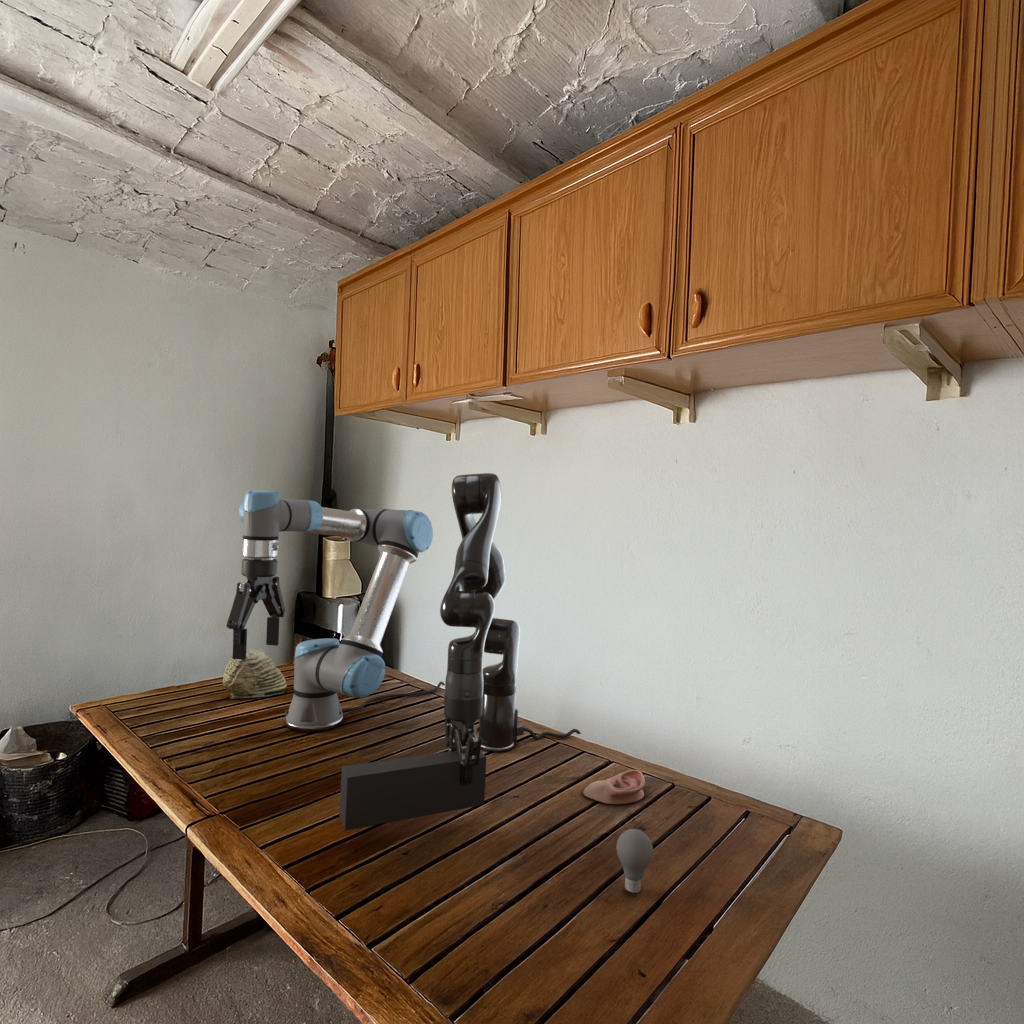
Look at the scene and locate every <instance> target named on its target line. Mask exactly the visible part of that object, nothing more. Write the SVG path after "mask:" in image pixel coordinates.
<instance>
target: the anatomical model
mask: <svg viewBox="0 0 1024 1024" xmlns="http://www.w3.org/2000/svg"><path fill="white" fill-rule="evenodd" d="M645 785H646V779H645V775H644V773H643V772H642V771H641V770H639V769H630V770H626V771H623V772H620V773H618V774H616V775H613V776H612V777H609V778H607V779H604V780H597V781H595V780H594V781H593V782H591V783H589V784H588V785H587V786H586V787H585V788H584V790H583V793H582V794H583V796H585V797H586V798H588V799H591V800H594V801H596V802H600V803H603V804H607V805H624V804H630V803H636V802H638V801H640V800H642V799H643V798H644V796H645V792H644V790H643V789H644V787H645Z"/></svg>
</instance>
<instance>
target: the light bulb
mask: <svg viewBox="0 0 1024 1024" xmlns="http://www.w3.org/2000/svg"><path fill="white" fill-rule="evenodd" d="M615 849H616V854H617V857H618V859H619V861H620V863H621V865H622V867H623V873H624V874H623V875H624V876H625V878H624V888H625V890H627V891H628V892H630V893H634V894H635V893H639V892H640V891H641V889H642V887H641V886H642V879H643V877H644V875H645V871H646V868H647V867H648V866H649V864H650V863H651V861H652V859H653V855H654V847H653V843H652V841H651V838H649V836H648V835H647V834H646V833H645V832H643V831H642V830H641V829H636V828H629V829H627V830H625V831H623V832H622V833H621V834H620V835H619V837H618V839H617V841H616V847H615Z"/></svg>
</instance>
